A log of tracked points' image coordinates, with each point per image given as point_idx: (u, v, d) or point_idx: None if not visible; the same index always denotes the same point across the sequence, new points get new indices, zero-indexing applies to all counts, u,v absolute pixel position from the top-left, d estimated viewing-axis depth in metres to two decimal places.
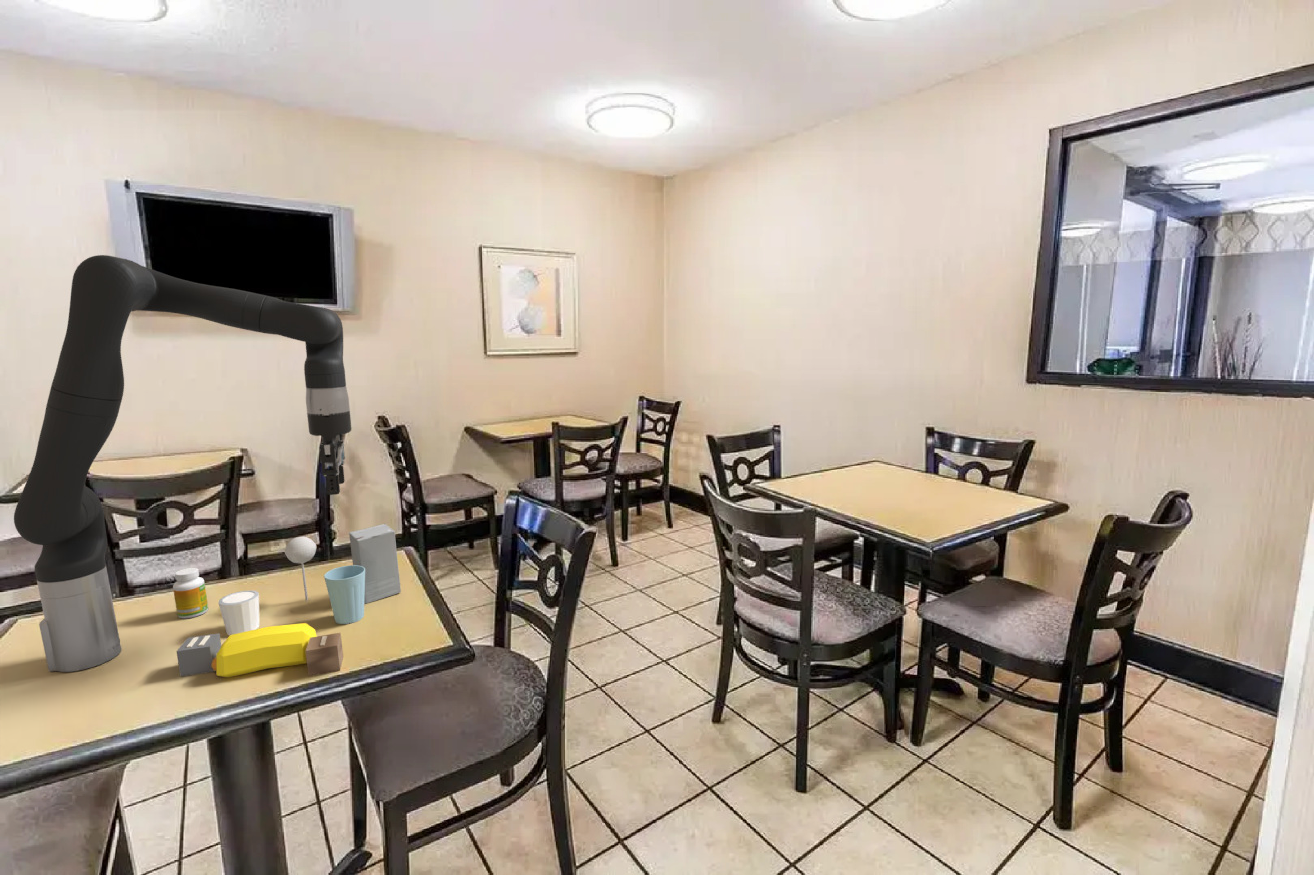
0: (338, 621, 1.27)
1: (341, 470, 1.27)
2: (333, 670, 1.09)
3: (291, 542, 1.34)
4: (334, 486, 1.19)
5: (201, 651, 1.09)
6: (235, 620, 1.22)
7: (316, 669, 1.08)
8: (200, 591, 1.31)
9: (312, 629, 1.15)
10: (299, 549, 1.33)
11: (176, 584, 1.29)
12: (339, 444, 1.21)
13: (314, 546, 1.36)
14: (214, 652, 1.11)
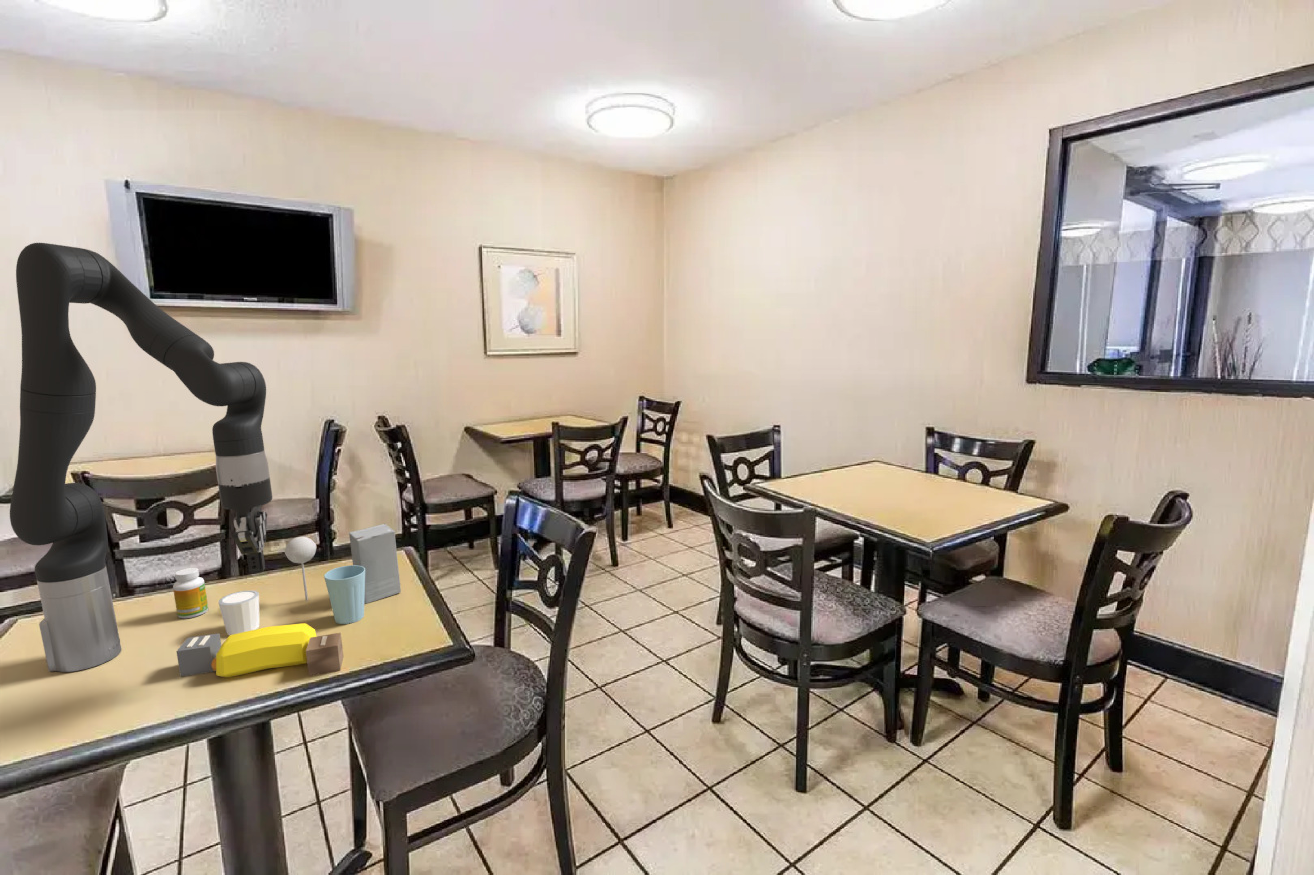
0: (338, 621, 1.27)
1: None
2: (333, 670, 1.10)
3: (291, 542, 1.34)
4: (256, 564, 1.08)
5: (201, 651, 1.09)
6: (235, 620, 1.22)
7: (316, 669, 1.08)
8: (200, 591, 1.31)
9: (312, 629, 1.15)
10: (299, 549, 1.33)
11: (176, 584, 1.29)
12: (257, 519, 1.06)
13: (314, 546, 1.36)
14: (214, 652, 1.11)
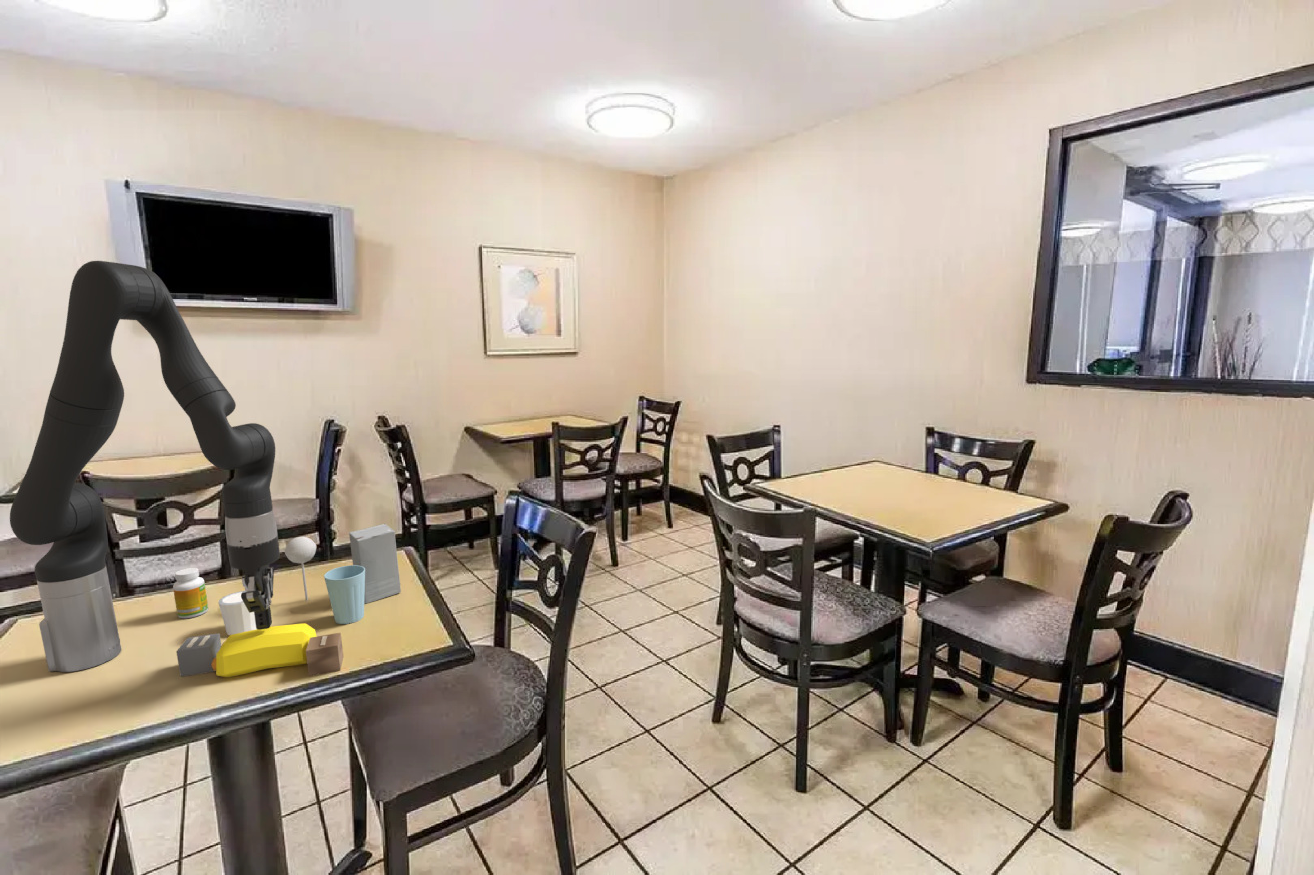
0: (338, 621, 1.27)
1: None
2: (333, 670, 1.10)
3: (291, 542, 1.34)
4: (263, 621, 1.10)
5: (201, 651, 1.09)
6: (235, 620, 1.22)
7: (316, 669, 1.08)
8: (200, 591, 1.31)
9: (312, 629, 1.15)
10: (299, 549, 1.33)
11: (176, 584, 1.29)
12: (265, 577, 1.08)
13: (314, 546, 1.36)
14: (214, 652, 1.11)
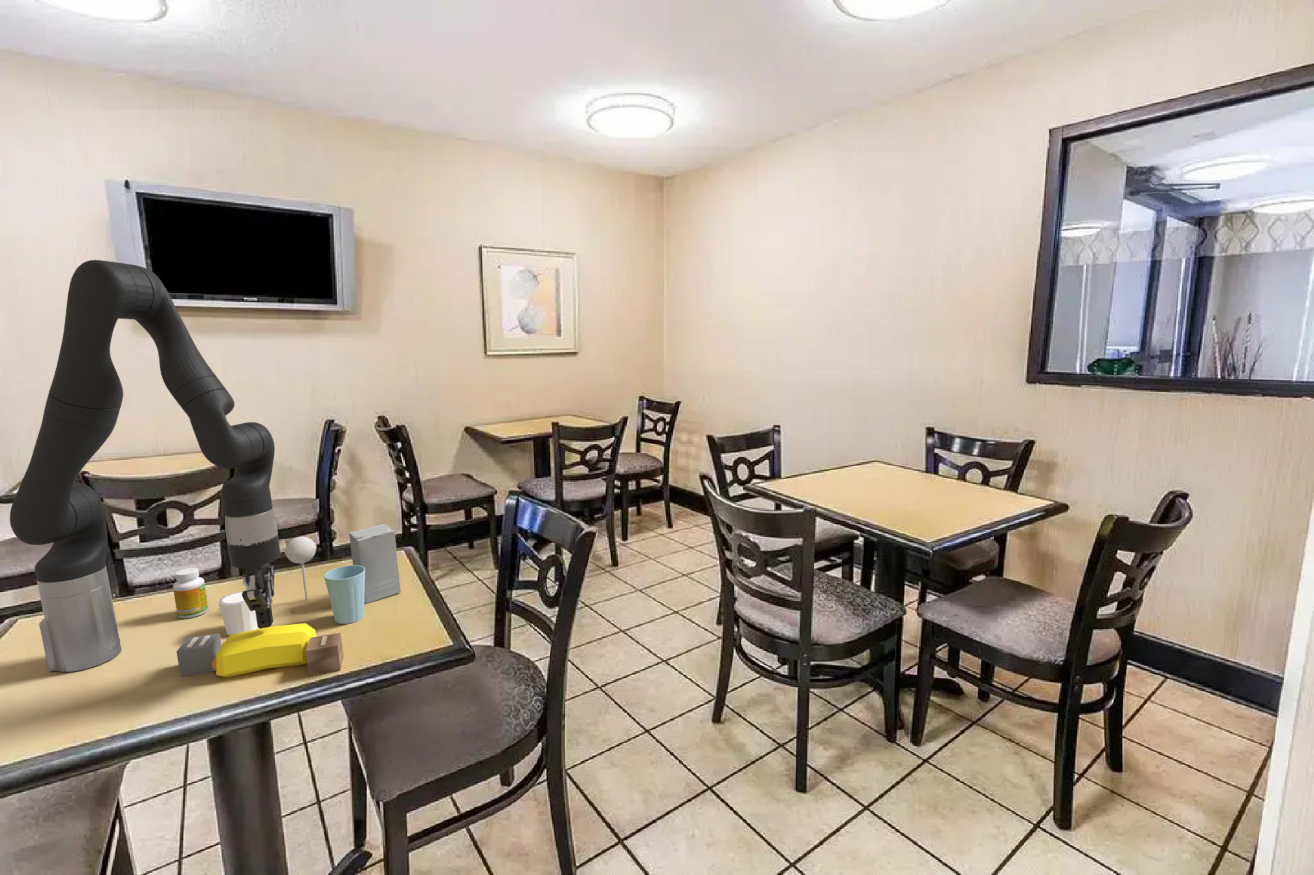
0: (338, 621, 1.27)
1: None
2: (333, 670, 1.10)
3: (291, 542, 1.34)
4: (265, 620, 1.10)
5: (201, 651, 1.09)
6: (235, 620, 1.22)
7: (316, 669, 1.08)
8: (200, 591, 1.31)
9: (312, 629, 1.15)
10: (299, 549, 1.33)
11: (176, 584, 1.29)
12: (265, 576, 1.08)
13: (314, 546, 1.36)
14: (214, 652, 1.11)
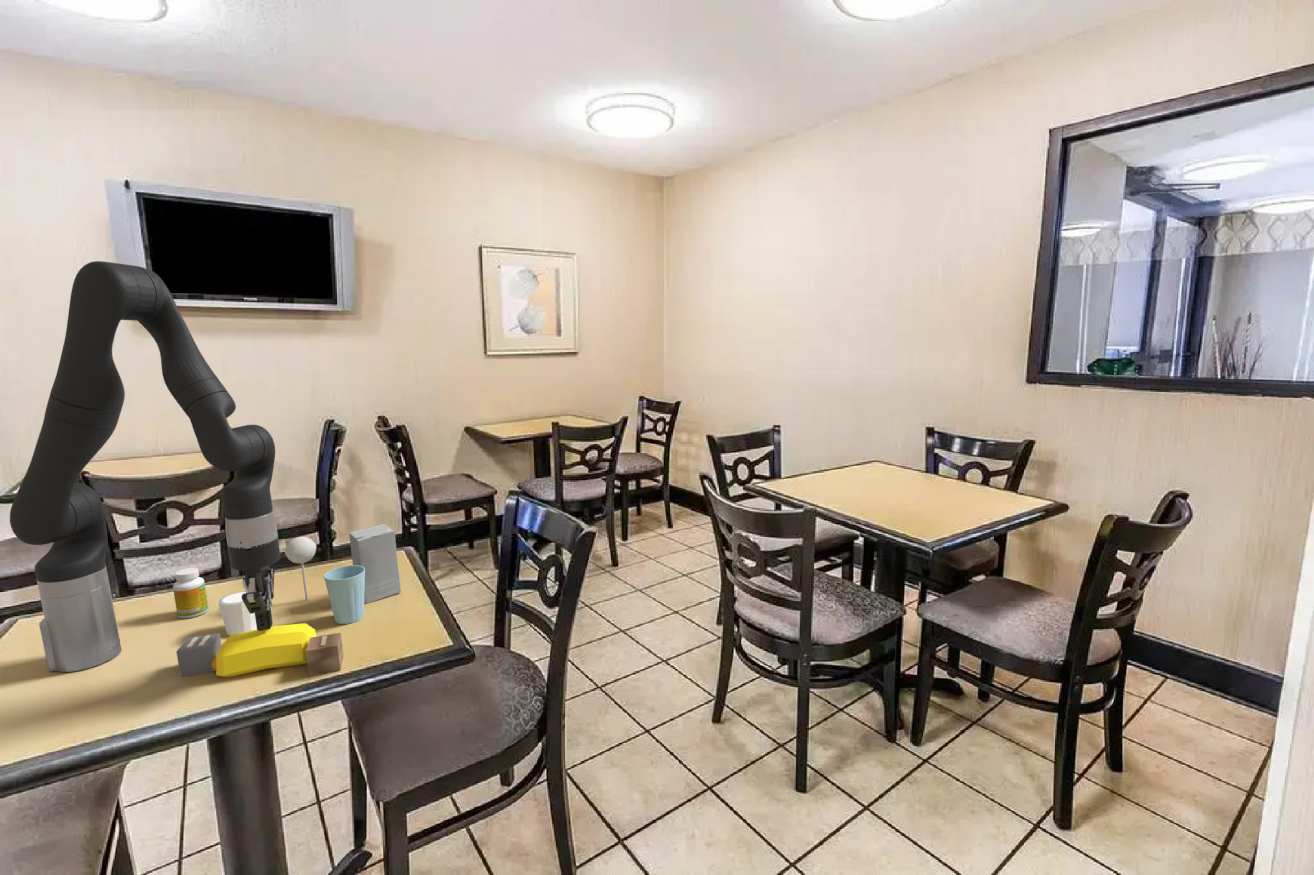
0: (338, 621, 1.27)
1: None
2: (333, 670, 1.10)
3: (291, 542, 1.34)
4: (264, 622, 1.10)
5: (201, 651, 1.09)
6: (235, 620, 1.22)
7: (316, 669, 1.08)
8: (200, 591, 1.31)
9: (312, 629, 1.15)
10: (299, 549, 1.33)
11: (176, 584, 1.29)
12: (265, 578, 1.08)
13: (314, 546, 1.36)
14: (214, 652, 1.11)
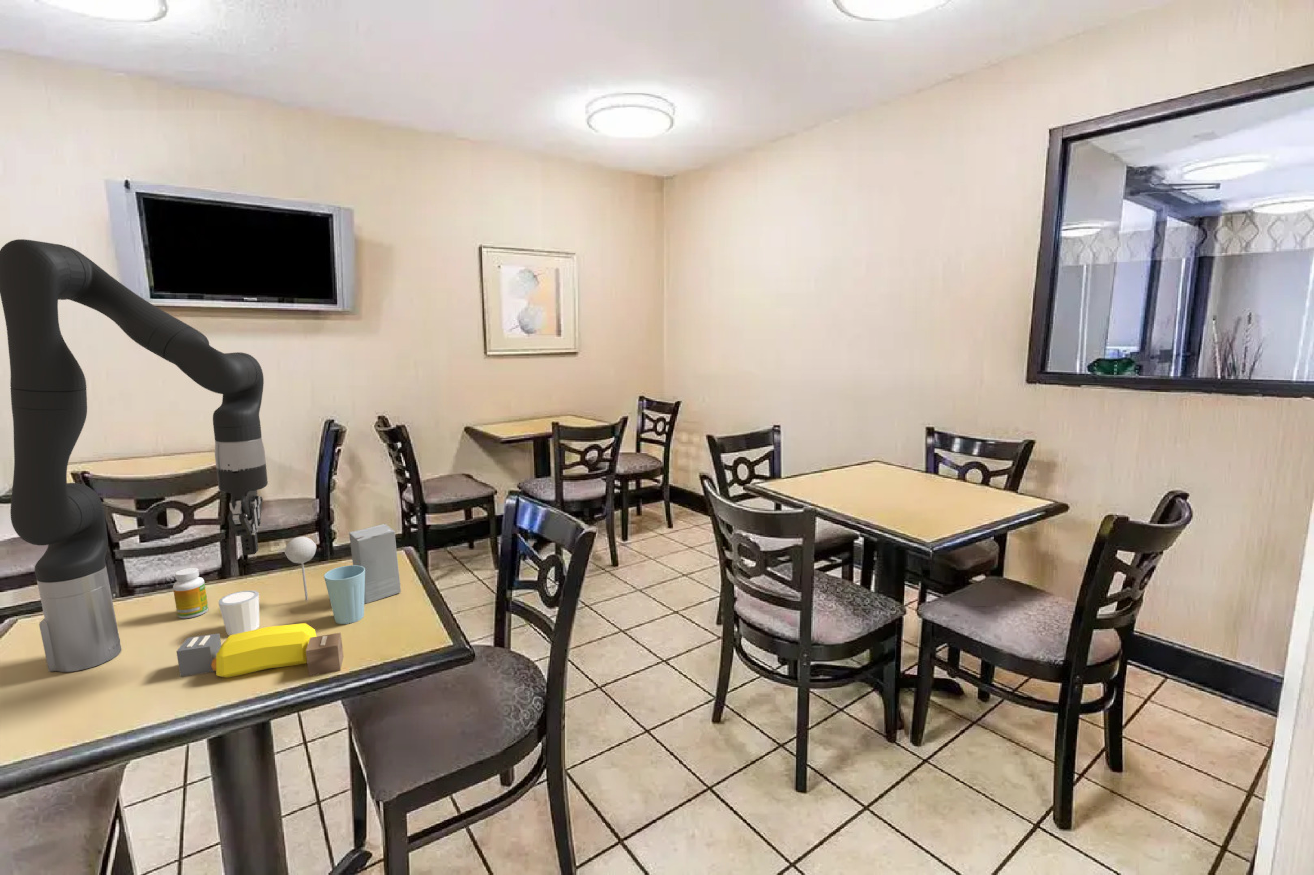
0: (338, 621, 1.27)
1: None
2: (333, 670, 1.09)
3: (291, 542, 1.34)
4: (250, 546, 1.13)
5: (201, 651, 1.09)
6: (235, 620, 1.22)
7: (316, 669, 1.08)
8: (200, 591, 1.31)
9: (312, 629, 1.15)
10: (299, 549, 1.33)
11: (176, 584, 1.29)
12: (252, 503, 1.11)
13: (314, 546, 1.36)
14: (214, 652, 1.11)
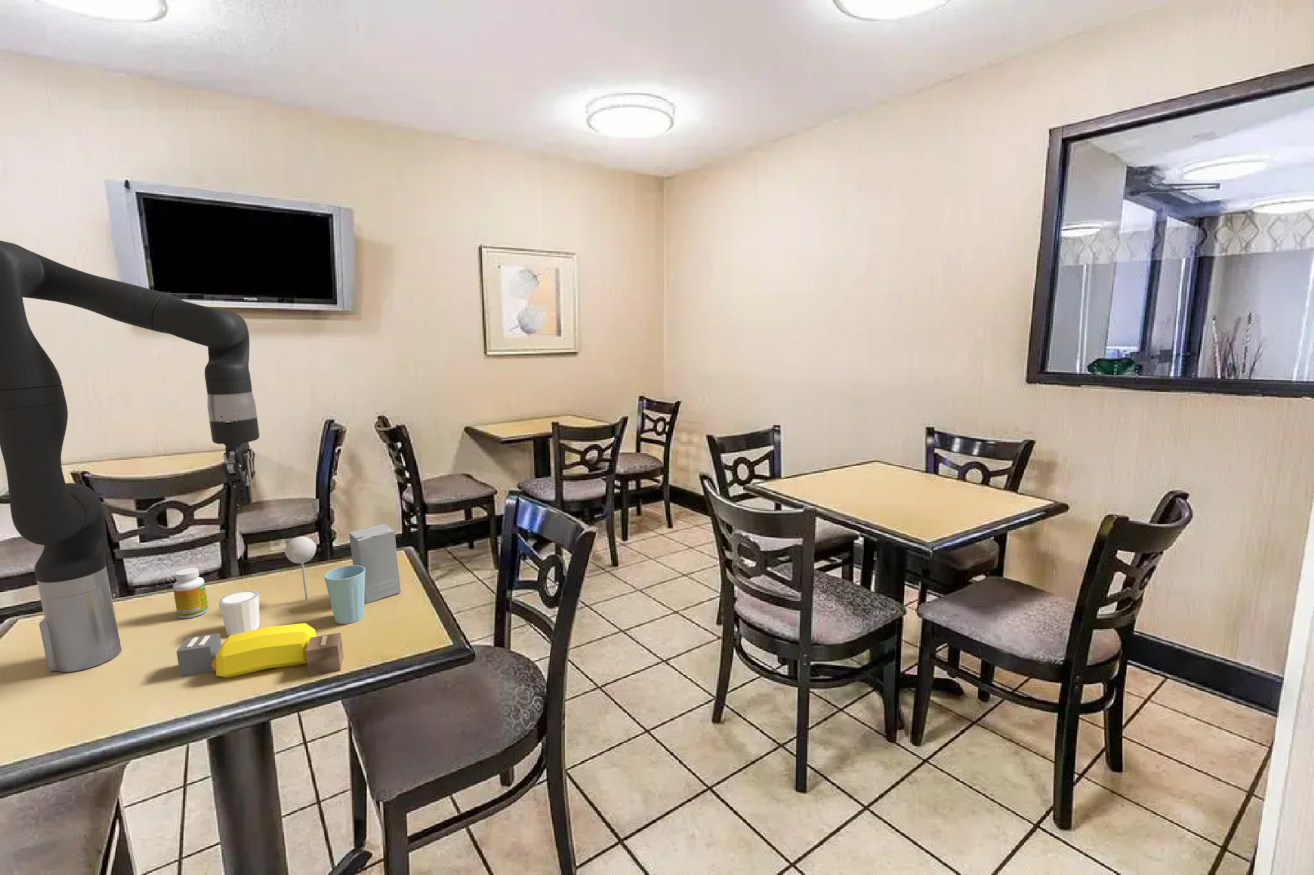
0: (338, 621, 1.27)
1: None
2: (333, 670, 1.09)
3: (291, 542, 1.34)
4: (244, 497, 1.17)
5: (201, 651, 1.09)
6: (235, 620, 1.22)
7: (316, 669, 1.08)
8: (200, 591, 1.31)
9: (312, 629, 1.15)
10: (299, 549, 1.33)
11: (176, 584, 1.29)
12: (245, 454, 1.16)
13: (314, 546, 1.36)
14: (214, 652, 1.11)
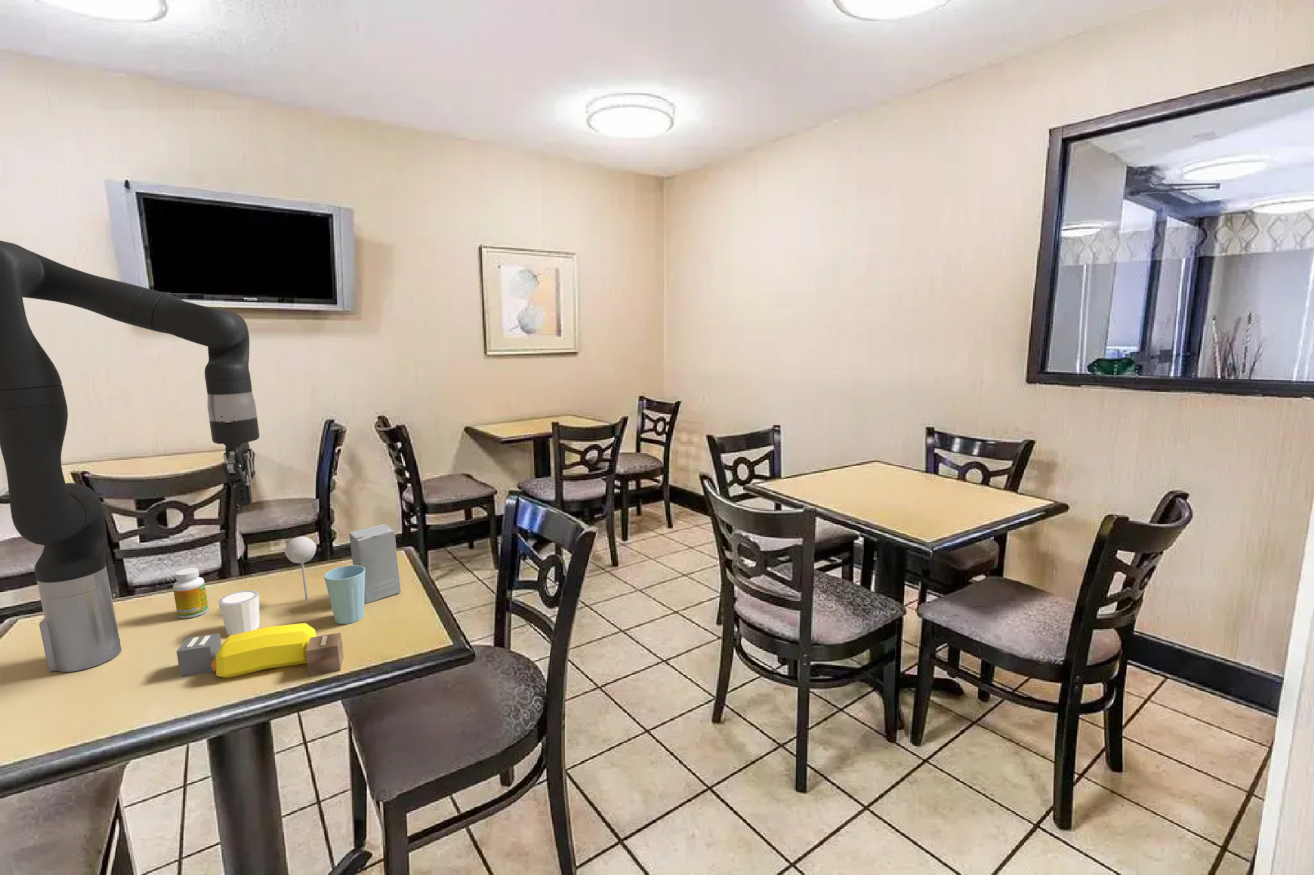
0: (338, 621, 1.27)
1: None
2: (333, 670, 1.09)
3: (291, 542, 1.34)
4: (244, 497, 1.17)
5: (201, 651, 1.09)
6: (235, 620, 1.22)
7: (316, 669, 1.08)
8: (200, 591, 1.31)
9: (312, 629, 1.15)
10: (299, 549, 1.33)
11: (176, 584, 1.29)
12: (245, 454, 1.16)
13: (314, 546, 1.36)
14: (214, 652, 1.11)
